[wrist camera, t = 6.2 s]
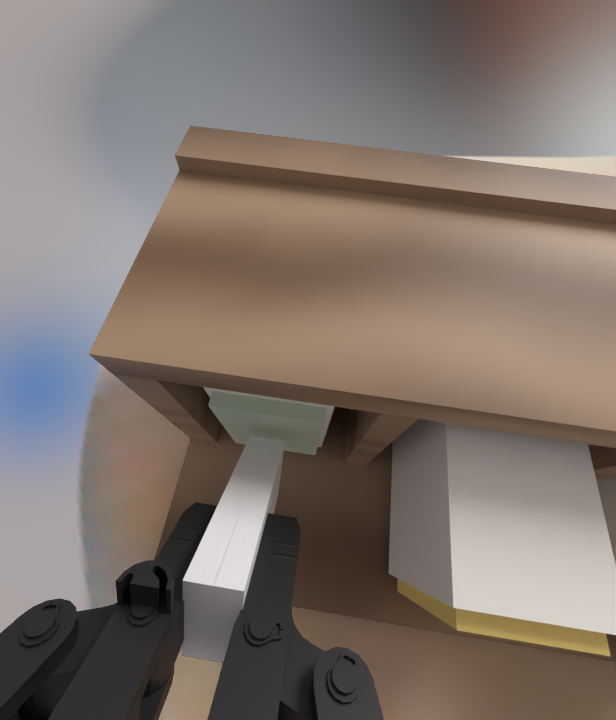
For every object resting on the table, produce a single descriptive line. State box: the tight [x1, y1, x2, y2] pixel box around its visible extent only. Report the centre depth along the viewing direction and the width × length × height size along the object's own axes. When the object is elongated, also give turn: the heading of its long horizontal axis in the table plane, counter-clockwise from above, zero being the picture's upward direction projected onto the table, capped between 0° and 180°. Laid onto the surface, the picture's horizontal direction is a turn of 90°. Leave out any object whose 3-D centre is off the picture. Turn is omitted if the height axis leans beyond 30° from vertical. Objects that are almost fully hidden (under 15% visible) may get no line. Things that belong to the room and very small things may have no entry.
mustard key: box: [388, 419, 616, 656], centre depth 14 cm, size 8×5×8 cm, turn 172°
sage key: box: [203, 387, 335, 455], centre depth 17 cm, size 8×5×8 cm, turn 172°
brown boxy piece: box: [89, 126, 616, 661], centre depth 15 cm, size 18×28×12 cm, turn 82°
